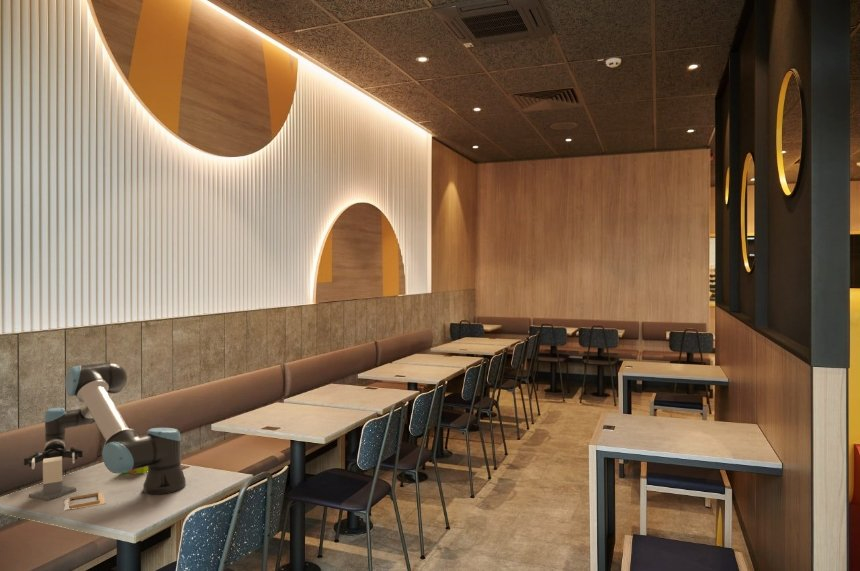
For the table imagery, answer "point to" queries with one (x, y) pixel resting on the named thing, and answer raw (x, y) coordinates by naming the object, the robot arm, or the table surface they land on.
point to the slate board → (53, 495)
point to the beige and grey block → (52, 475)
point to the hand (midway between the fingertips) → (53, 462)
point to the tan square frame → (87, 504)
